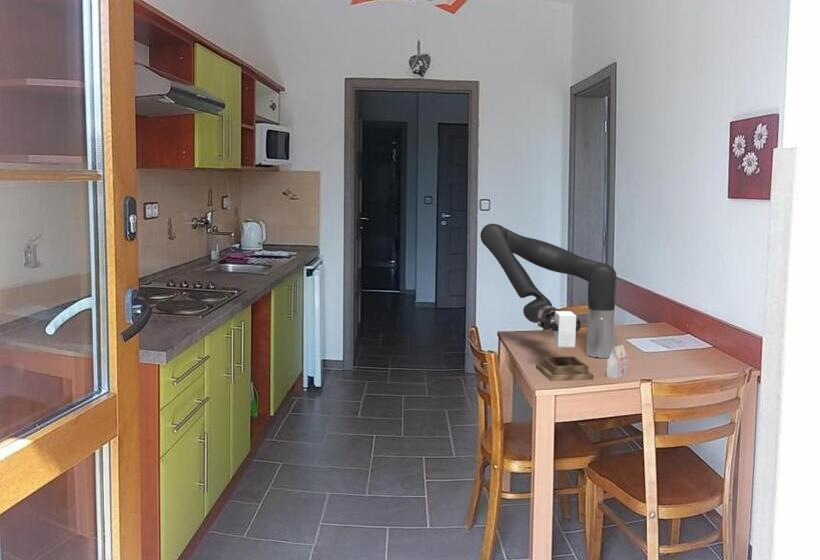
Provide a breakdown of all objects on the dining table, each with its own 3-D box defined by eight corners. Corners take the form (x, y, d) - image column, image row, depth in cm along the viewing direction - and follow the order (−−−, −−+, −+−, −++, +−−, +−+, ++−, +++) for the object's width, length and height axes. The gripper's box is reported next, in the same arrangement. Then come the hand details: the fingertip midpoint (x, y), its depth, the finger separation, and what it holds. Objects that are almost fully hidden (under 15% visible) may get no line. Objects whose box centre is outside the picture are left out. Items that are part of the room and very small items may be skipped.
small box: (575, 347, 233) (576, 315, 232) (557, 347, 233) (559, 315, 232) (570, 342, 241) (571, 311, 240) (553, 341, 241) (554, 310, 240)
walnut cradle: (576, 366, 247) (576, 355, 247) (593, 379, 231) (593, 367, 231) (536, 367, 246) (536, 356, 245) (550, 380, 230) (551, 368, 229)
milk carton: (606, 377, 234) (608, 347, 233) (616, 373, 239) (617, 343, 238) (617, 379, 232) (618, 348, 230) (626, 375, 237) (628, 345, 235)
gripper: (531, 307, 249) (546, 317, 233) (572, 307, 251) (589, 316, 234) (530, 328, 250) (545, 339, 234) (571, 328, 252) (588, 339, 235)
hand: (567, 328), depth 234 cm, fingers closed on small box, 6 cm apart
